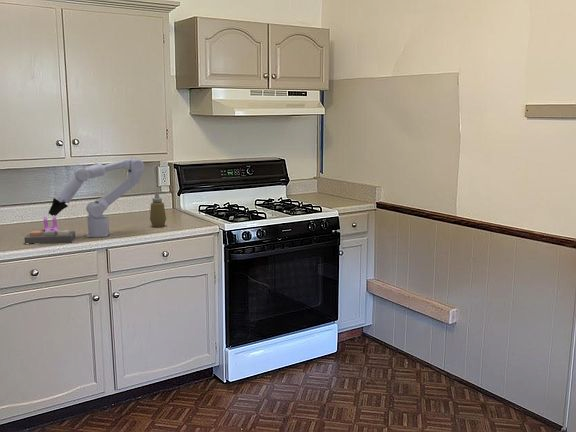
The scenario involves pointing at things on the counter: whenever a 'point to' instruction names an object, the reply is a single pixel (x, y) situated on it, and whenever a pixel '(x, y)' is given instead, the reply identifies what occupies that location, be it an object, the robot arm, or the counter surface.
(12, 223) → the counter surface
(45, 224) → the bracket
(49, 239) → the grey slotted base
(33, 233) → the terracotta key
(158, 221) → the squeeze bottle
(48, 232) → the grey key
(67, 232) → the cream key
